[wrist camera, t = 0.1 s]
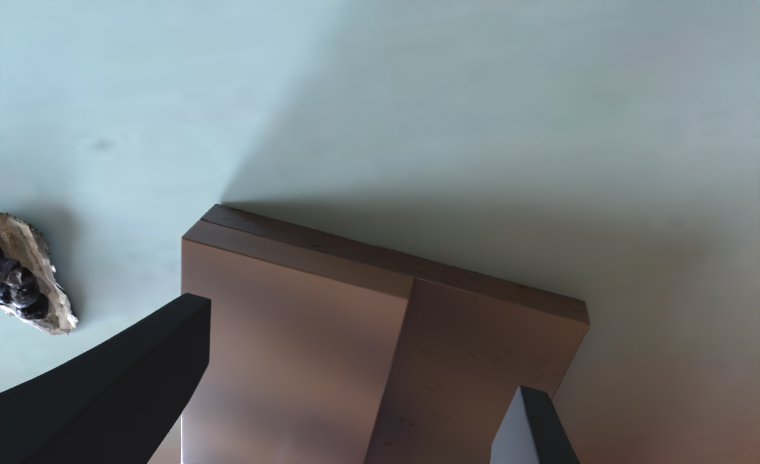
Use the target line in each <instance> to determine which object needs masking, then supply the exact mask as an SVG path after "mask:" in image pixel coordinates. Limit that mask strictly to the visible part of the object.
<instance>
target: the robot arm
mask: <svg viewBox="0 0 760 464" xmlns="http://www.w3.org/2000/svg"><path fill="white" fill-rule="evenodd" d="M211 302H212V299H209V298H206V297H202V296H198V295H195V294H191V293H188V292H186V293H185V294H183V295H181V296H179V297H178V298H176V299H174V300H173V301H171V302H169V303H168V304H166V305H164V306H163V307H161V308H160V309H158V310H156V311H155V312H153V313H152V314H150V315H148V316H147V317H145V318H143V319H142V320H140V321H138V322H137V323H135V324H134V325H132V326H130V327H128V328H127V329H125V330H123V331H122V332H120V333H118V334H116V335H115V336H113V337H111V338H110V339H108V340H106V341H104V342H103V343H101V344H99V345H97V346H96V347H94V348H92V349H90V350H88V351H86V352H84V353H83V354H81V355H79V356H77V357H75V358H73V359H71V360H69V361H67V362H66V363H64V364H62V365H60V366H58V367H56V368H54V369H52V370H50V371H48V372H46V373H44V374H42V375H39V376H37V377H35V378H33V379H31V380H29V381H26V382H24V383H22V384H20V385H17V386H15V387H13V388H10V389H8V390H6V391H4V392H1V393H0V464H147V463H148V461H149V460H150V458H151V457H152V455H153V454H154V452H155V451H156V450H157V448H158V447H159V445H160V444H161V442H162V441H163V439H164V438H165V437H166V435H167V434H168V432H169V431H170V429H171V428H172V426H173V425H174V423H175V422H176V421H177V419H178V418H179V416H180V415H181V413H182V412H183V410H184V409H185V407H186V406H187V404H188V403H189V401H190V399H191V397H192V396H193V394H194V392H195V390H196V388H197V386H198V384H199V382H200V381H201V379H202V377H203V375H204V373H205V371H206V369H207V367H208V365H209V359H210V331H211ZM490 464H580V462H579V460H578V458H577V456H576V454H575V452H574V450H573V448H572V446H571V443H570V441H569V439H568V437H567V435H566V433H565V431H564V428H563V426H562V424H561V422H560V420H559V417H558V415H557V413H556V411H555V408H554V406H553V404H552V402H551V399H550V397H549V395H548V394H547V392H544V391H541V390H537V389H533V388H530V387H526V386H523V385H519V387H518V389H517V391H516V393H515V395H514V397H513V400H512V402H511V404H510V406H509V408H508V410H507V413H506V415H505V417H504V419H503V421H502V423H501V426H500V428H499V430H498V432H497V434H496V436H495V438H494V441H493V443H492V450H491V460H490Z"/></svg>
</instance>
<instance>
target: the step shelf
mask: <svg viewBox="0 0 760 464" xmlns="http://www.w3.org/2000/svg"><path fill="white" fill-rule="evenodd" d="M186 292H188V293H191V294H195V295H198V296H202V297H206V298H209V299H212V302H211V331H210V359H209V365H208V367H207V369H206V371H205V373H204V375H203V377H202V379H201V381H200V382H199V384H198V386H197V388H196V390H195V392H194V394H193V396H192V397H191V399H190V401H189V403H188V404H187V406H186V407H185V409H184V410H183V412H182V413H181V464H490V460H491V450H492V443H493V441H494V438H495V436H496V434H497V432H498V430H499V428H500V426H501V423H502V421H503V419H504V417H505V415H506V413H507V410H508V408H509V406H510V404H511V402H512V400H513V397H514V395H515V393H516V391H517V389H518V387H519V385H523V386H526V387H530V388H533V389H537V390H541V391H544V392H547V394H548V395H549V397H550V399H551V400H552V398H553V396H554V394H555V392H556V390H557V388H558V386H559V384H560V382H561V380H562V378H563V377H564V375H565V373H566V371H567V369H568V367H569V365H570V363H571V361H572V359H573V357H574V355H575V353H576V351H577V350H578V348H579V346H580V344H581V342H582V340H583V338H584V336H585V334H586V332H587V330H588V328H589V326H590V320H589V316H588V312H587V308H586V304H585V302H584V301H580V300H576V299H573V298H569V297H565V296H561V295H557V294H554V293H550V292H546V291H542V290H539V289H535V288H531V287H527V286H524V285H520V284H516V283H512V282H509V281H505V280H501V279H497V278H494V277H490V276H486V275H482V274H479V273H475V272H471V271H467V270H463V269H460V268H456V267H452V266H448V265H445V264H441V263H437V262H433V261H430V260H426V259H422V258H418V257H415V256H411V255H407V254H403V253H400V252H396V251H392V250H388V249H385V248H381V247H377V246H373V245H370V244H366V243H362V242H358V241H354V240H351V239H347V238H343V237H339V236H336V235H332V234H328V233H324V232H321V231H317V230H313V229H309V228H306V227H302V226H298V225H294V224H291V223H287V222H283V221H279V220H276V219H272V218H268V217H264V216H260V215H257V214H253V213H249V212H245V211H242V210H238V209H234V208H230V207H227V206H223V205H219V204H215V205H214V206H213V207H212V208H211V209H210V210H209V211H208V212H206V213H205V214H204V215H203V216H202V217H201V218H200V220H198V221H197V222H196V223H195V224H194V225H193V226H192V227H191V228H190V229H189V230H188V231H187V232H186V233H185V234H184V235H183V236H182V237H181V295H183V294H185V293H186Z"/></svg>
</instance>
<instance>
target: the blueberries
mask: <svg viewBox="0 0 760 464" xmlns="http://www.w3.org/2000/svg"><path fill="white" fill-rule="evenodd" d="M37 231H38V230H37V229H34V227H33V226H32V225H31V224H29V223H28V224H26V223H25V224H24V223H23V221H21V222H20V219H17V218H16V217H13V216H12V214H11V215H9V214H8V213H6V214H4V213H2V212H0V308H1V309H3V310H6V314H8V315H9V316H11V315H13V316H18V317H19V318H20V319H22V320H23V321H24V322H25V323H26V322H28V323H30V324H31V325H32V326H35V327H36V328H38V329H40V330H42V331H43V332H45V333H49V334H51V335H57V334H58V335H60V334H64V333H67V334H68V333H69V332H70V331H69V330H71V329H72V330H74V329H76V326H75V325H77V324H76V323H77V322H79V321H78V320H77V318H78V317H74V316H73V315H72V314H71V313H70V312H72V313H73V311H71V310H70V307H71V303H68V302H69V300H68V299H67V296H66V295H64V294H63V293H62V292H61V291H60V290H59V289H58V288H57V287H56V286H55V285H56V284H57V283H56V282H55V280H56V279H55V278H53V277H52V276H53V273H52V271H54V272H55V273H56V268H54V265H53V266H52V265H50V264H49V263H50V262H49V258H48V255H50V253H49V252H48V251H49V250H48V248H49V244H47V243H46V242H44V241H43V240H44V239H43V238H44V237H43V236H44V235H43V234H42V233H39V232H37ZM54 279H55V280H54ZM57 285H58V286H59V284H57ZM60 288H61V287H60ZM62 289H63V288H62ZM63 290H64V289H63ZM68 335H69V334H68Z"/></svg>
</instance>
